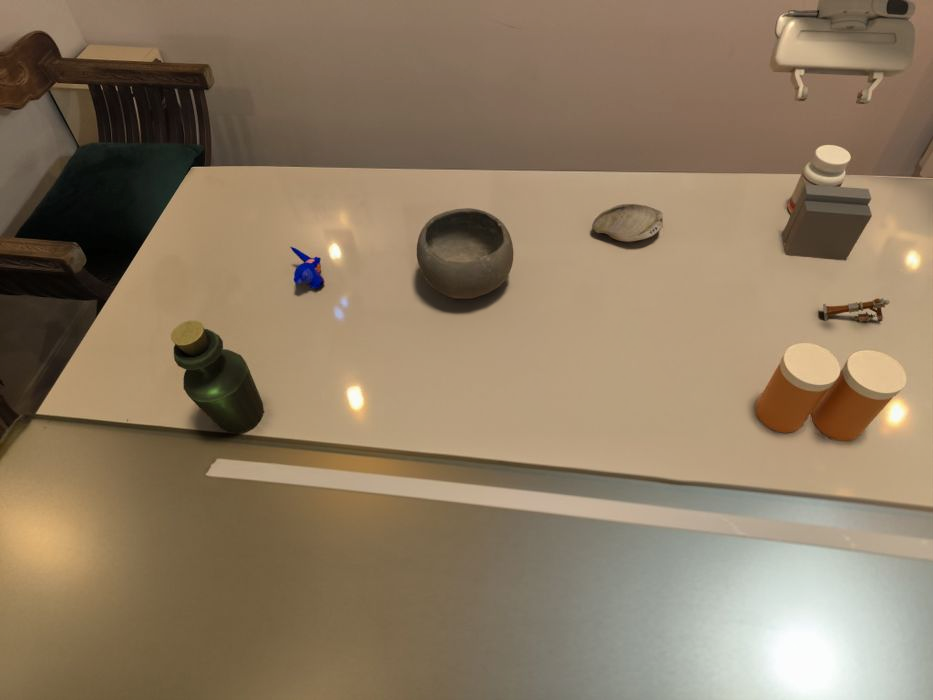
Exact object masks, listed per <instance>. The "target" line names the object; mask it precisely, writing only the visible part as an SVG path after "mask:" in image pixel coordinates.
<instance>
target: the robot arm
mask: <svg viewBox="0 0 933 700" xmlns="http://www.w3.org/2000/svg"><path fill="white" fill-rule="evenodd" d="M915 12H916V3H914V2H913V1H910V0H818V1H817V7H816V10H815V9H813V10H810V9H807V10H806V9H805V10H797V9H789V10H787V11H786V12H783V13H782V14H781V15H779V16H778V18H777V19H776V21H775V27H774V36H775V38H776V40H775V42H774V46H773V48H772V52H771V56H770V61H769V67H770V69H771V71H772V72H774V73H789V74H790V82H791V84H792V87H793V89H794V90H795V93H794V101H796V102H797V101H798V102H805V101H806V100H807V99H808V95H809V89H810V87H809V86H805V85H804V83H803V81H802V77H803V76H804V75H805V74H815V75H834V76H837V75H838V76H858V77H859V76H861V77H867V81H866V82H867V83H868V84H869V85H868V86H867V87H866V89H861V90H860V91H859V92H857V95H856V98H857V99H856V101H855V103H856V104H857V105H867V104H869V103H870V102H871V100H872V95H873V91H874V90H875V89H876V88H877V87H878V85H879V84H880V83H881V82H882V80H883V78H897V77H898V76H900V75H902V74H903V73H904V72H906V71H907V70H908V69H909V68H910V67H911V65H912V64H913V63H912V62H913V58H914V52H915V42H916V28H915V26H914V24H913V23H912V22H911V21H910V19H911V18H912V17H913V16H914V15H915Z"/></svg>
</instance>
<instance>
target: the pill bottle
mask: <svg viewBox="0 0 933 700" xmlns="http://www.w3.org/2000/svg"><path fill="white" fill-rule="evenodd" d="M851 158H852V157H851V154H850V152H849V151H848V150H847V149H846V148H844V147H841V146H838V145H834V144H825V145H820V146H818V147H817V148H816V149H815V151H814V153H813V155H812V158H811V160H810V161H809V162H807V163H806V165H805V166H804V167H803V170H802V172H801V174H800V176H799V178H798V180H797V183H796V185H795V188H794V190H793V191H792V192H793V193H792V195H791V197H790V199H789V201H788V205H787V210H788V212H789V213H790V215H791V214H792V212H793V209H794V207H795V205H796V203H797V201H798V198H799V196H800V194H801V192H802V190H803V188H804V185H805V184H807V185H821V186H835V187H842V184H843V183H844V181H845V179H846V176H847V175H846V174H847V173H846V169H847V167H848V165H849V163H850V161H851Z"/></svg>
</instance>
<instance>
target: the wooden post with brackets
mask: <svg viewBox="0 0 933 700" xmlns="http://www.w3.org/2000/svg"><path fill="white" fill-rule="evenodd" d="M889 304H890V300H889V299H885V298H884V297H882V298H880V297H879V298H875V299H872V300H871V301H864V302H863V301H859V302H858V301H856V302H853V303H847V304H844V305H827V304H826V303H822V310H823V316H824V320H825V321H828V320H829V318H830V317H833V316H835V315H839V314H844V313H850V314H851V313H856V312H857V315H855V316H854V317H853V319H854V321H858V322H859V323H861V322H866V321H867V323H868V322H869V321H870V319H873V318H877V322H883V318H884V316H883V311H882V308H886V306H887V305H888V306H889ZM864 310H870V311H872V312H874V313H875V314H872V313H870V314H869V313H868V311H865V313H858V312H859V311H860V312H863V311H864Z"/></svg>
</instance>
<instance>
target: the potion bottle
mask: <svg viewBox="0 0 933 700" xmlns="http://www.w3.org/2000/svg"><path fill="white" fill-rule="evenodd" d="M204 327H205V326H204V325H203V324H202V322H201V321H199V320H192V319H191V320H186V321H183V322H181V323H179V324H177V326H175V327H174V328H173V330H172V331H171V333H170V341H171V342H172V343H173V344H174V346H173V360H174V362H175V363H176V365H177V367H180V368H181V369H183V370H185V371H184V373H183V384H182V385H183V390H184V392H185V393H186V395H187V396H188V398H189V399H190V400H191V401H193V403H194V404H195V405H196V406H198V408H199V409H200V410H201V411H202V412H203V413H204V414H205V415H206V416H207V417H208V418H209V419H210V420H211V421H212V422H213V423H214V424H215V425H216V426H217V427H218V428H219V429H220V430H221V431H223V432H225V433H228V434H241V433H244V432H247V431H249V430H251V429H252V428H254V427H255V426H256V425H257V424H258V423H259V421H260V420H261V419H262V417H263V414H264V411H265V409H264V402H263V400H262V398H261V395H260V392H259V390H258V387H257V385H256V383H255V380H254V378H253V375H252V374H251V373H252V372H251V371H250V369H249V366H248V363H247V361H246V360H245V359H244V357H243V356H242V355H241V354H240V353H238V352H235V351H233V350H230V349H226V348H224V341H223V339H222V338H221V336H220V335H219V334H217V333H216V332H214V331H212V330H211V329H208V328H204Z"/></svg>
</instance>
